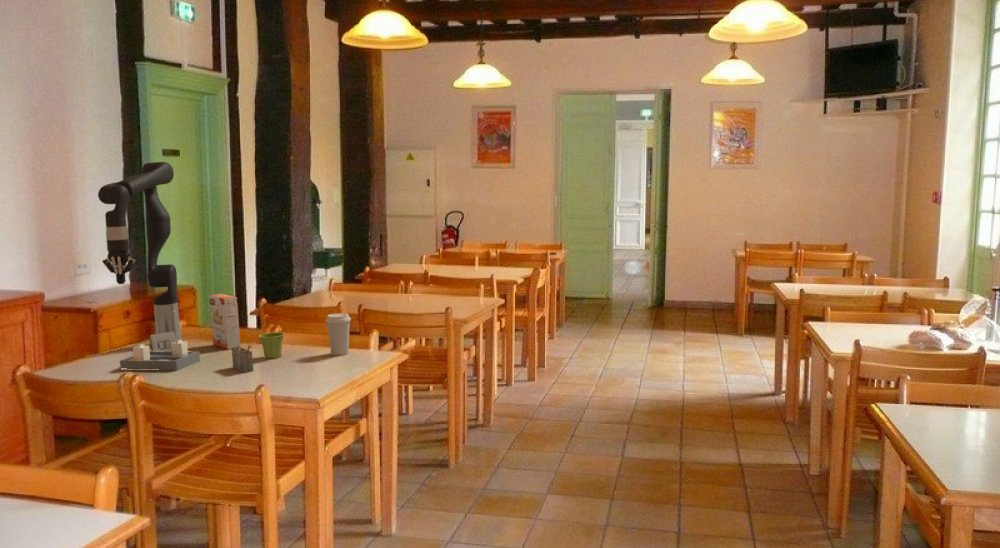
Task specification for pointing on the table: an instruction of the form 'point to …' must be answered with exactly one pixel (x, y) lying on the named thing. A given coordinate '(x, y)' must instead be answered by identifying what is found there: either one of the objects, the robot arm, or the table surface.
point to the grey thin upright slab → (242, 359)
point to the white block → (179, 347)
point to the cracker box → (225, 321)
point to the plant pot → (272, 344)
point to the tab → (141, 352)
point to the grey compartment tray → (161, 361)
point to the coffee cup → (338, 333)
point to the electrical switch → (162, 341)
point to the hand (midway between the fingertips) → (121, 283)
